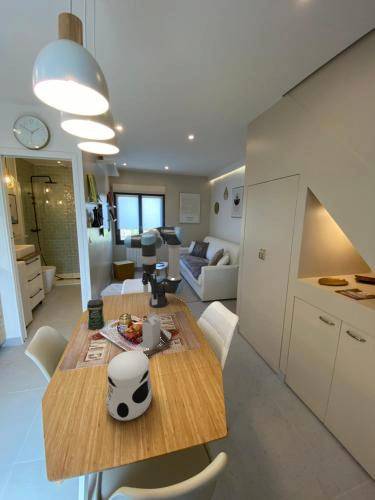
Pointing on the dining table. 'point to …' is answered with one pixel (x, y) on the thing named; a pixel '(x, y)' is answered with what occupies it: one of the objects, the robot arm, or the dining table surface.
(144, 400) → the milk container
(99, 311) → the coffee jar
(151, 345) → the milk carton
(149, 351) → the bay
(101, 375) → the dining table surface
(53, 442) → the dining table surface
